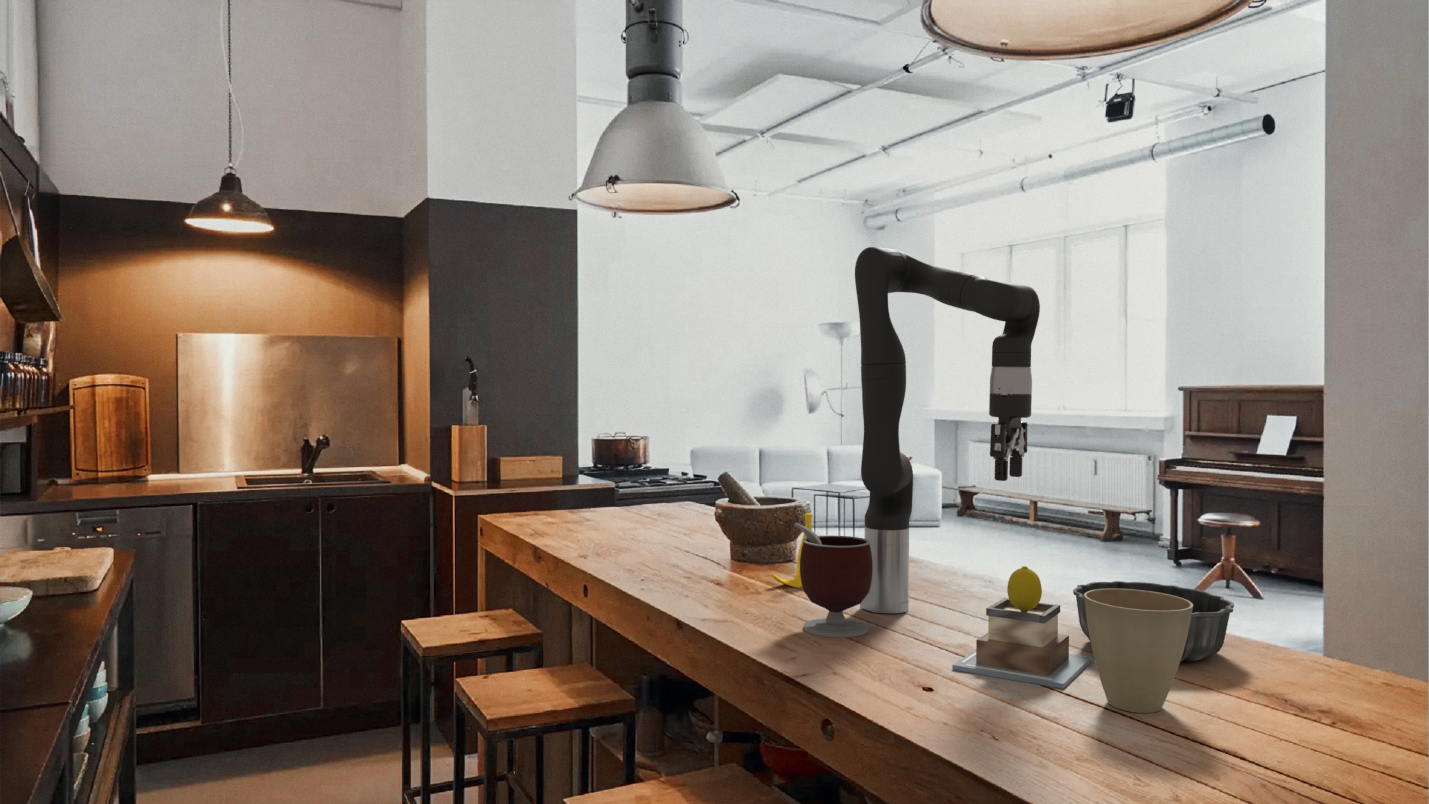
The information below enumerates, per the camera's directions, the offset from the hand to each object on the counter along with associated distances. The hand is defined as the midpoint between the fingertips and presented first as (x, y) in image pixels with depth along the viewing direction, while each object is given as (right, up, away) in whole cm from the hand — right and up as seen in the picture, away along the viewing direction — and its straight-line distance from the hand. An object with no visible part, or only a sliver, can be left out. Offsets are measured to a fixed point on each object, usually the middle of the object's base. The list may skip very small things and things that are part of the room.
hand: (1008, 478), depth 187 cm
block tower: (-3, -30, -18) cm, 35 cm away
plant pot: (+8, -31, -38) cm, 50 cm away
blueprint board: (-3, -30, -18) cm, 35 cm away
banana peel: (-35, -29, +48) cm, 66 cm away
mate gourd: (-32, -30, +7) cm, 44 cm away
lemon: (-2, -22, -18) cm, 28 cm away
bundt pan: (+23, -30, -7) cm, 39 cm away
